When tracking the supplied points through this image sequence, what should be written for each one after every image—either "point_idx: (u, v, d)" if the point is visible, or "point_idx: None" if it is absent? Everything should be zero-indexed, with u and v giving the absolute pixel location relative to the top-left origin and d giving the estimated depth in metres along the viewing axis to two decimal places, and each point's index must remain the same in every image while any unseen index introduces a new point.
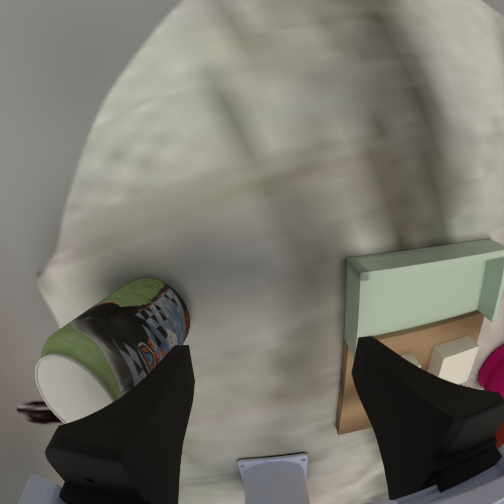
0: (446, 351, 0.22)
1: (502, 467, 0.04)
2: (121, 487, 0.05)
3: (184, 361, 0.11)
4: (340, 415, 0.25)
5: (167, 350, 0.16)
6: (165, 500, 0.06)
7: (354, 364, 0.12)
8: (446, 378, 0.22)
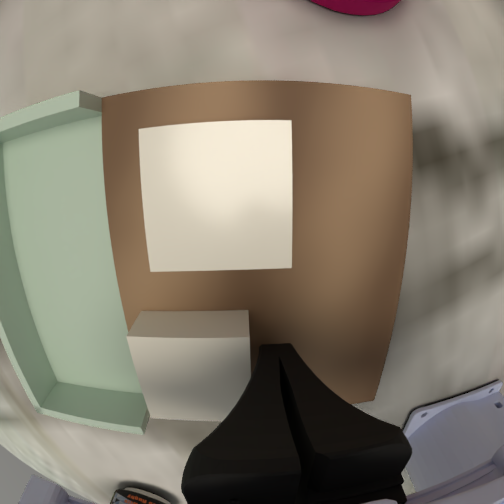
0: None
1: (502, 467, 0.04)
2: (278, 497, 0.05)
3: (279, 360, 0.11)
4: None
5: None
6: None
7: None
8: (236, 232, 0.09)
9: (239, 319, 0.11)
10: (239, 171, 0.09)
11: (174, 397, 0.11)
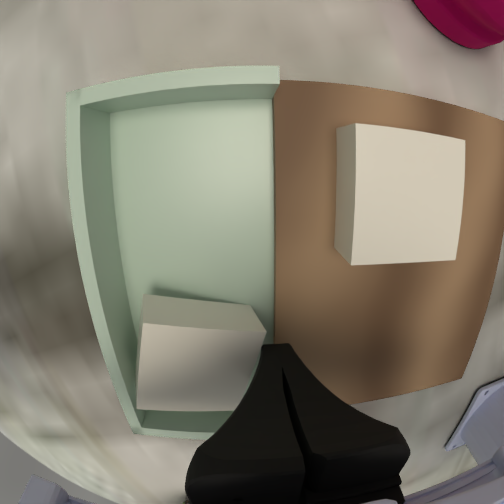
0: (345, 235, 0.10)
1: (502, 467, 0.04)
2: (281, 496, 0.05)
3: None
4: None
5: None
6: None
7: None
8: (426, 229, 0.09)
9: (247, 313, 0.12)
10: (433, 177, 0.09)
11: (171, 388, 0.11)
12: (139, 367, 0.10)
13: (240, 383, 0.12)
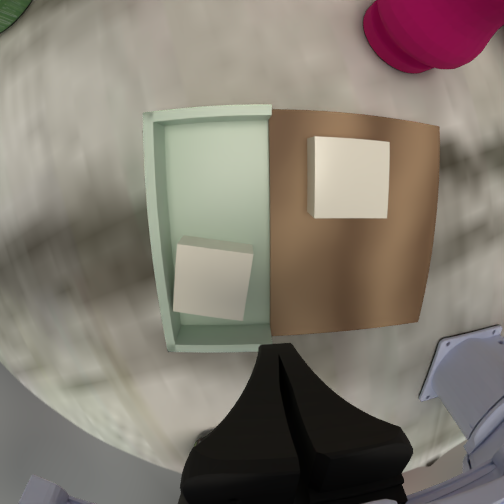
0: (311, 202, 0.17)
1: (502, 467, 0.04)
2: (277, 497, 0.05)
3: None
4: None
5: None
6: None
7: None
8: (362, 197, 0.16)
9: (247, 247, 0.19)
10: (365, 165, 0.16)
11: (195, 293, 0.18)
12: (175, 276, 0.18)
13: (241, 295, 0.19)
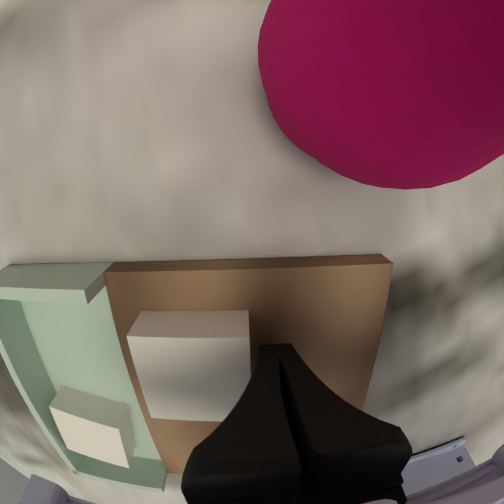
0: None
1: (502, 467, 0.04)
2: (278, 497, 0.05)
3: (278, 360, 0.11)
4: None
5: None
6: None
7: None
8: (210, 403, 0.11)
9: (118, 411, 0.14)
10: (209, 370, 0.11)
11: (79, 443, 0.14)
12: (58, 427, 0.13)
13: (120, 453, 0.14)
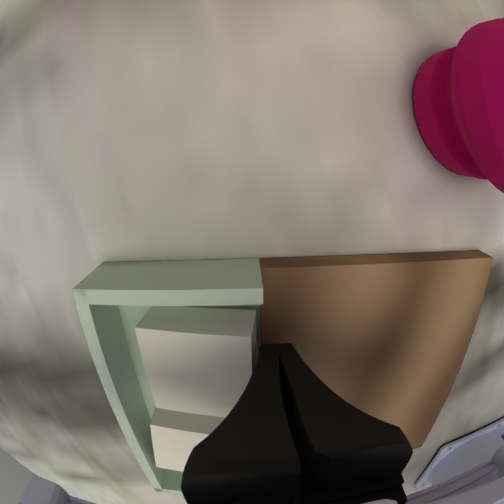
0: None
1: (502, 467, 0.04)
2: (277, 497, 0.05)
3: (278, 360, 0.11)
4: None
5: None
6: None
7: None
8: (212, 398, 0.12)
9: None
10: (212, 366, 0.11)
11: (177, 459, 0.14)
12: (153, 445, 0.13)
13: None
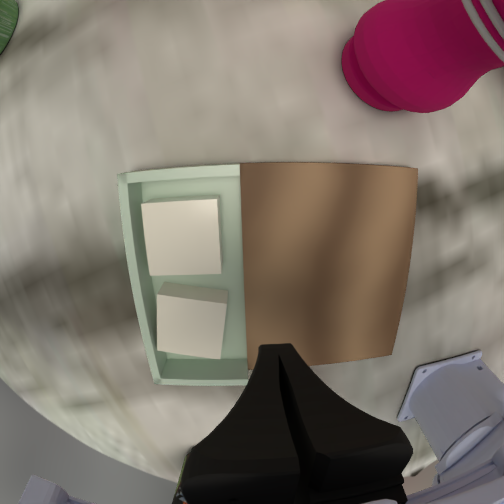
0: None
1: (502, 467, 0.04)
2: (277, 496, 0.05)
3: None
4: None
5: None
6: None
7: None
8: (192, 255, 0.18)
9: (222, 294, 0.20)
10: (192, 226, 0.17)
11: (176, 336, 0.20)
12: (157, 321, 0.19)
13: (217, 338, 0.20)
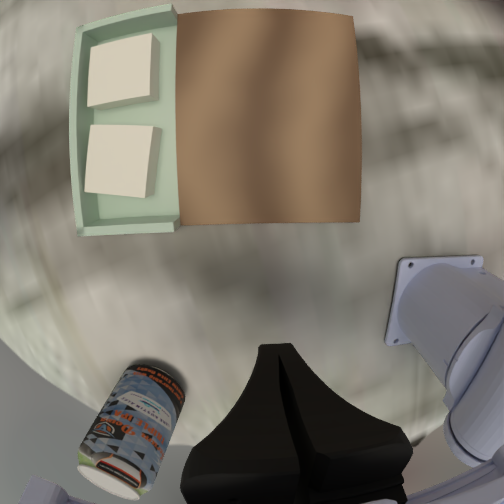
0: None
1: (502, 467, 0.04)
2: (277, 497, 0.05)
3: None
4: (315, 221, 0.20)
5: (123, 407, 0.19)
6: None
7: None
8: (125, 81, 0.16)
9: None
10: (128, 56, 0.15)
11: (102, 171, 0.17)
12: (87, 156, 0.17)
13: (142, 169, 0.17)
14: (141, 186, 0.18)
